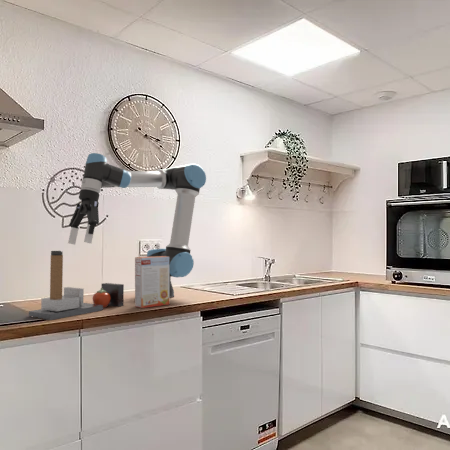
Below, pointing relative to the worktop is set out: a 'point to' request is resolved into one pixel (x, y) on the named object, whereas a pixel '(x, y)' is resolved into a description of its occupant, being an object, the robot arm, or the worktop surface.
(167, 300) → the cracker box
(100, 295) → the tomato
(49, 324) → the worktop surface
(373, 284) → the worktop surface
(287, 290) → the worktop surface
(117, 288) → the press bench
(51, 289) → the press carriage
